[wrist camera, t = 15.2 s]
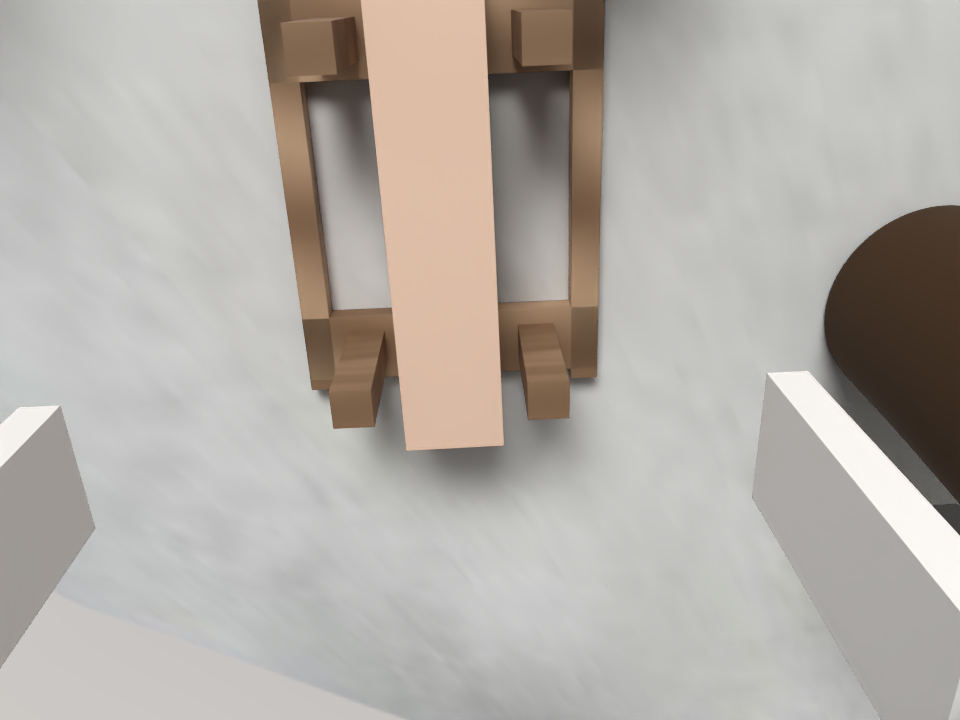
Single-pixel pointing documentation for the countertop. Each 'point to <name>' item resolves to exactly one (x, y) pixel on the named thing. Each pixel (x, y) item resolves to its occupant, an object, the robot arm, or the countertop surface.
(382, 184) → the clay strip
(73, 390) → the countertop surface
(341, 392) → the rack
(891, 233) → the olive oil
